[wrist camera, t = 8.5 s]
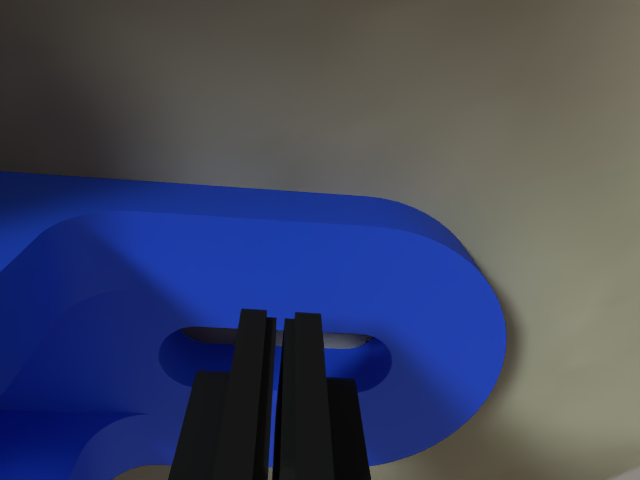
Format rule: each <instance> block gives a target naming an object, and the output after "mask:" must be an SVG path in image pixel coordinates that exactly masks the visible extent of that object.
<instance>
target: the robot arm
mask: <svg viewBox="0 0 640 480" xmlns="http://www.w3.org/2000/svg"><path fill="white" fill-rule="evenodd" d="M276 322H277V318H275V317H267V310H258V309H243V308H242V309H241V313H240V319H239V325H238V330H237V336H236V342H235V348H234V354H233V360H232V366H231V372H222V371H203V370H197V372H196V375H195V378H194V381H193V385H192V389H191V393H190V397H189V401H188V405H187V408H186V412H185V416H184V420H183V424H182V428H181V432H180V436H179V439H178V443H177V447H176V451H175V455H174V459H173V463H172V466H171V470H170V474H169V478H168V480H268V466H269V448H270V430H271V412H272V394H273V376H274V358H275V340H276ZM272 480H371V476H370V470H369V463H368V457H367V450H366V444H365V437H364V431H363V425H362V418H361V412H360V405H359V399H358V392H357V386H356V382H355V380H354V378H335V377H326V367H325V355H324V343H323V330H322V318H321V314H320V313H305V312H295V317H294V319H291V318H285V321H284V331H283V341H282V352H281V362H280V372H279V383H278V393H277V403H276V414H275V430H274V452H273V473H272Z"/></svg>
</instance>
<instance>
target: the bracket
mask: <svg viewBox="0 0 640 480" xmlns="http://www.w3.org/2000/svg"><path fill="white" fill-rule="evenodd" d="M242 308H243V309H258V310H267V317H275V318H277V322H276V330H284V321H285V318H291V319H294V317H295V312H305V313H320V314H321V318H322V330H323V332H330V333H353V334H365V335H369V336H372V337H373V338H372V339H371V340H370V341H369V342H367V343H366V344H364V345H362V346H360V347H357V348H352V349H328V348H324V355H325V367H326V377H335V378H354V380H355V382H356V386H357V392H358V399H359V405H360V412H361V418H362V425H363V431H364V437H365V444H366V450H367V457H368V463H369V466H374V465H380V464H385V463H389V462H393V461H396V460H400V459H403V458H406V457H409V456H411V455H414V454H416V453H419V452H421V451H423V450H425V449H427V448H429V447H431V446H433V445H435V444H437V443H438V442H440V441H442V440H443V439H445V438H447V437H448V436H449V435H451V434H452V433H453V432H455V431H456V430H458V429H459V428H460V427H461V426H462V425H463V424H464V423H466V422H467V421H468V420H469V419H470V418H471V417H472V416H473V415H474V414H475V413H476V412H477V411H478V409H479V408H480V407H481V405H482V404H483V403H484V402H485V400H486V399H487V397H488V396H489V394H490V392H491V391H492V389H493V387H494V385H495V383H496V381H497V379H498V377H499V374H500V371H501V368H502V365H503V361H504V356H505V351H506V326H505V321H504V316H503V312H502V309H501V306H500V304H499V301H498V299H497V297H496V295H495V293H494V291H493V289H492V288H491V286H490V285H489V283H488V282H487V280H486V279H485V277H484V276H483V274H482V273H481V271H480V270H479V268H478V267H477V265H476V264H475V262H474V261H473V259H472V258H471V256H470V255H469V253H468V252H467V250H466V249H465V248H464V246H463V245H462V244H461V242H460V241H459V240H458V239H457V238H456V237H455V236H454V235H453V234H452V232H451V231H450V230H448V229H447V228H446V227H445V226H443V225H442V224H441V223H440V222H438V221H437V220H435V219H434V218H432V217H430V216H429V215H427V214H426V213H424V212H421V211H419V210H417V209H415V208H413V207H410V206H408V205H405V204H402V203H399V202H395V201H391V200H387V199H382V198H375V197H366V196H353V195H338V194H324V193H309V192H295V191H280V190H266V189H251V188H237V187H222V186H208V185H193V184H179V183H164V182H150V181H135V180H121V179H106V178H92V177H77V176H63V175H49V174H34V173H20V172H5V171H0V480H112V479H113V478H114V477H116V476H118V475H119V474H121V473H123V472H125V471H127V470H129V469H132V468H135V467H139V466H144V465H172V463H173V459H174V455H175V451H176V447H177V443H178V439H179V436H180V432H181V428H182V424H183V420H184V416H185V412H186V408H187V405H188V401H189V397H190V393H191V389H192V385H193V381H194V378H195V375H196V372H197V370H203V371H222V372H231V366H232V360H233V354H234V348H235V345H232V344H209V343H202V342H198V341H195V340H193V339H191V338H190V337H188V336H187V335H185V334H184V333H183V332H182V331H181V330H180V329H182V328H187V327H216V328H238V325H239V319H240V313H241V309H242ZM281 352H282V347H280V346H275V358H274V376H273V394H272V412H271V430H270V448H269V466H268V467H273V452H274V430H275V414H276V403H277V393H278V383H279V372H280V362H281Z"/></svg>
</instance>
